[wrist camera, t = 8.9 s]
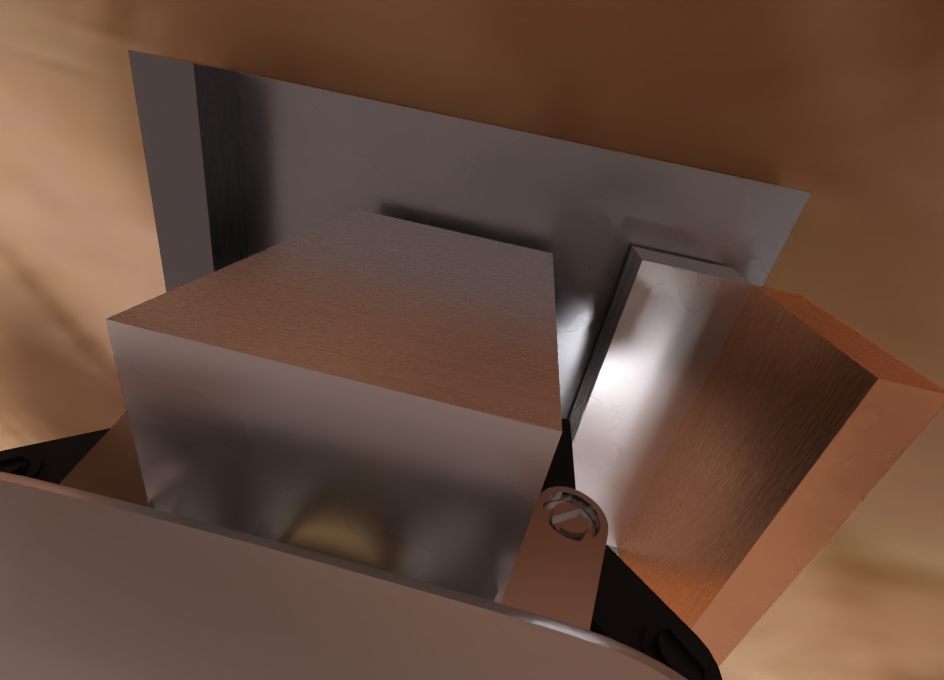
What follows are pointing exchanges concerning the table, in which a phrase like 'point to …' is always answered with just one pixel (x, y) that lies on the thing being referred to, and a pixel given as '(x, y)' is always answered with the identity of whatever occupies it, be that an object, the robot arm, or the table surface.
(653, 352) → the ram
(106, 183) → the table surface
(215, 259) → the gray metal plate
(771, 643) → the table surface
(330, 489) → the block
